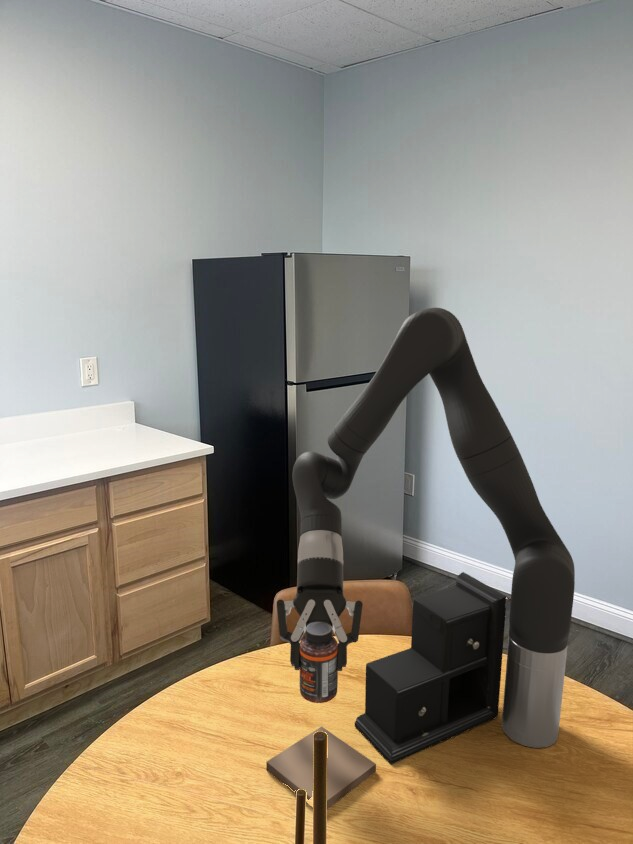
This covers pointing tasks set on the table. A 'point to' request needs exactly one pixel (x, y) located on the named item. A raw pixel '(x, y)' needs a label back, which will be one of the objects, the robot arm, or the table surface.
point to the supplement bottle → (318, 663)
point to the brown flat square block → (341, 767)
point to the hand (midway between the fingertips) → (318, 669)
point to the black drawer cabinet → (438, 672)
